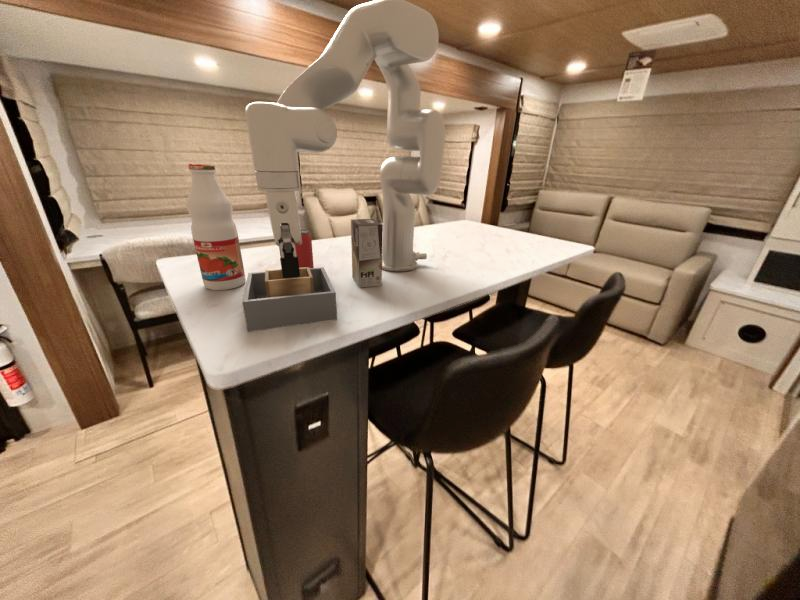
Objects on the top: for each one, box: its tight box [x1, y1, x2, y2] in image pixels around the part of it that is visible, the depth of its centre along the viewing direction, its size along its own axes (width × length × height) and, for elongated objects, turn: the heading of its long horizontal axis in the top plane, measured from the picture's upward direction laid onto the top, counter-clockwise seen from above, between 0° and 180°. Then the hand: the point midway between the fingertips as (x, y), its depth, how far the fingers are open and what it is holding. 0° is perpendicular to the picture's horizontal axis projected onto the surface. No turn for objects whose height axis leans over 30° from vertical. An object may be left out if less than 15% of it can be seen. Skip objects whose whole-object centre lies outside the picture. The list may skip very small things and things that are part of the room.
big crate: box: [242, 267, 338, 332], centre depth 66 cm, size 17×17×6 cm
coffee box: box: [350, 218, 383, 289], centre depth 81 cm, size 9×6×16 cm
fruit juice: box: [185, 163, 246, 291], centre depth 73 cm, size 9×9×28 cm
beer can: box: [294, 228, 315, 268], centre depth 86 cm, size 7×7×12 cm
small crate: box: [264, 267, 314, 298], centre depth 66 cm, size 9×7×7 cm
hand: (290, 269), depth 64 cm, fingers open, 9 cm apart
